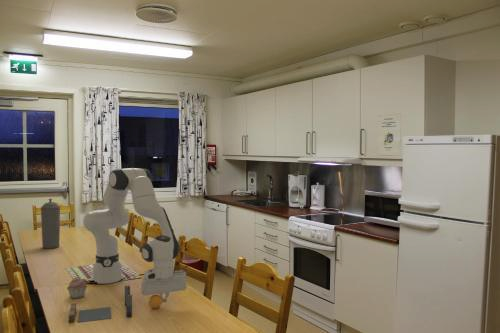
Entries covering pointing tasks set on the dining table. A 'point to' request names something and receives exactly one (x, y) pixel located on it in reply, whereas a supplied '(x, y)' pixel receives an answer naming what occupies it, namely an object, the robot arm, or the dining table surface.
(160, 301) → the ball
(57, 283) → the dining table surface
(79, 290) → the cupcake
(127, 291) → the post
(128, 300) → the post
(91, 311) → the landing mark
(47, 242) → the canister
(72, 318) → the stopper wall
